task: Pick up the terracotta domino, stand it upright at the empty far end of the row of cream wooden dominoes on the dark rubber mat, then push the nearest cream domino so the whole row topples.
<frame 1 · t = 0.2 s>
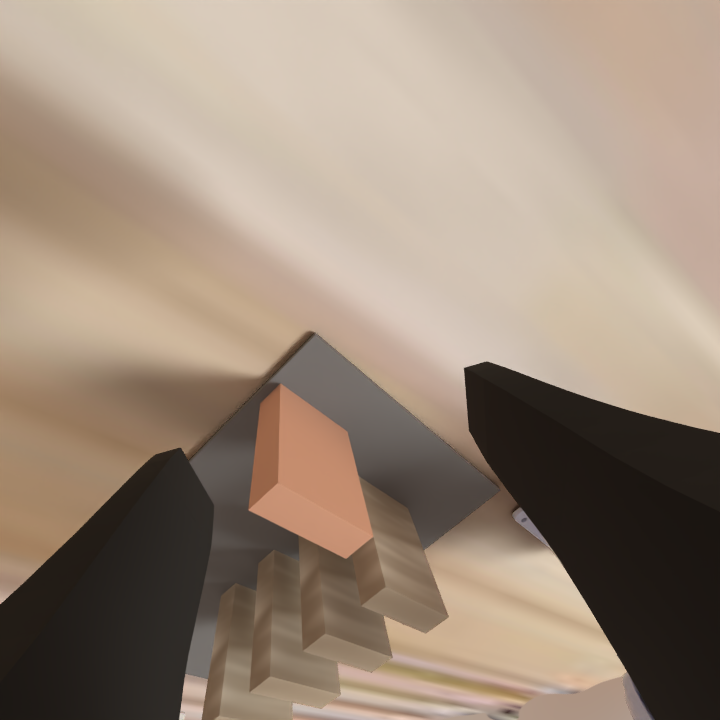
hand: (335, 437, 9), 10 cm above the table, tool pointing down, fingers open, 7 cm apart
rubber mat: (272, 555, 25), on the table
domino 2: (333, 535, 25), resting on rubber mat
domino 1: (375, 500, 24), resting on rubber mat
domino 4: (257, 600, 26), resting on rubber mat
domino 3: (294, 568, 25), resting on rubber mat
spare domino: (305, 418, 20), resting on rubber mat
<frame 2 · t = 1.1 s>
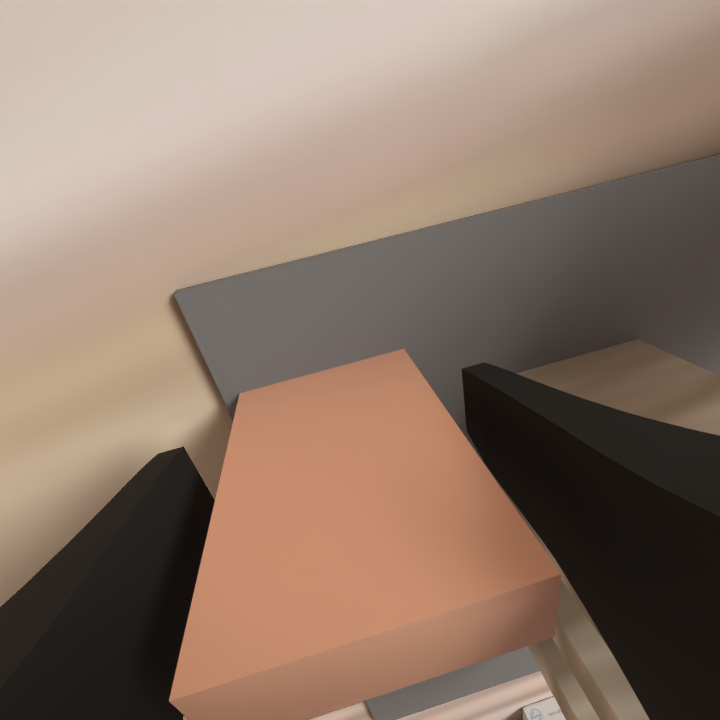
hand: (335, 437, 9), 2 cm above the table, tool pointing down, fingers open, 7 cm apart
rubber mat: (510, 534, 16), on the table
light bulb box: (557, 715, 28), on the table
domino 2: (561, 462, 14), resting on rubber mat
domino 1: (567, 378, 12), resting on rubber mat, touching gripper
domino 4: (551, 578, 18), resting on rubber mat
domino 3: (555, 527, 16), resting on rubber mat
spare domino: (329, 392, 11), resting on rubber mat
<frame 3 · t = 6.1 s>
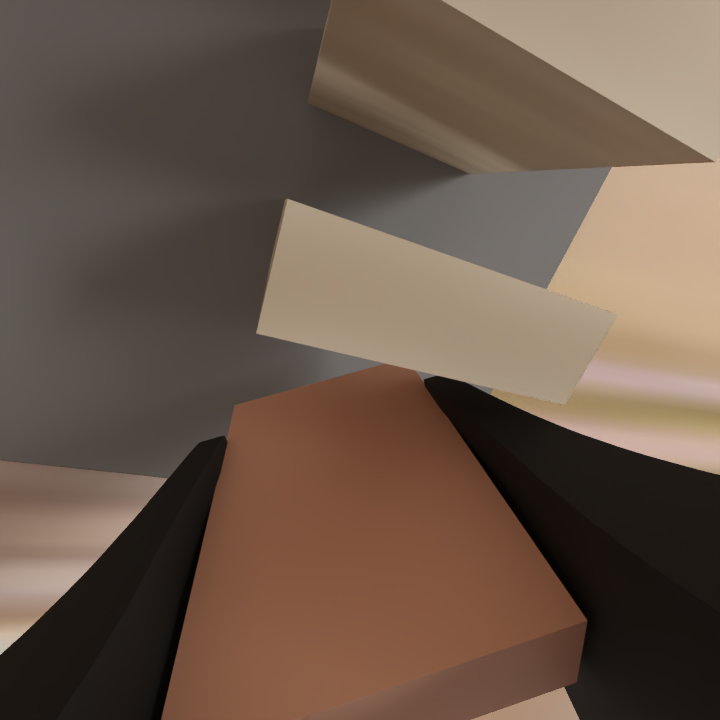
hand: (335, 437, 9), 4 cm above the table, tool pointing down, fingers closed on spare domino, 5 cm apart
rubber mat: (333, 78, 9), on the table
domino 4: (358, 253, 11), resting on rubber mat
domino 3: (404, 108, 10), resting on rubber mat
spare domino: (329, 403, 10), point 3 cm above the table, touching gripper
when the fingers open (3 cm above the table, at t = 7.1 s): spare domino stays where it is, resting on rubber mat.
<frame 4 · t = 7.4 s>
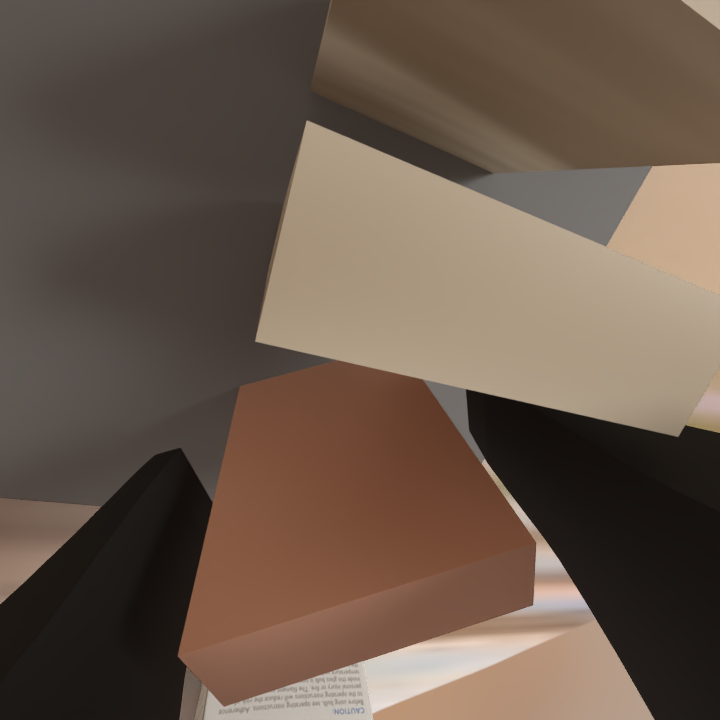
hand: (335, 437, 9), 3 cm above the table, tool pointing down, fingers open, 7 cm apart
rubber mat: (339, 62, 8), on the table
light bulb box: (269, 664, 19), on the table
domino 4: (367, 264, 10), resting on rubber mat, tilted 7°, touching gripper
domino 3: (422, 98, 8), resting on rubber mat
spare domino: (326, 386, 11), resting on rubber mat
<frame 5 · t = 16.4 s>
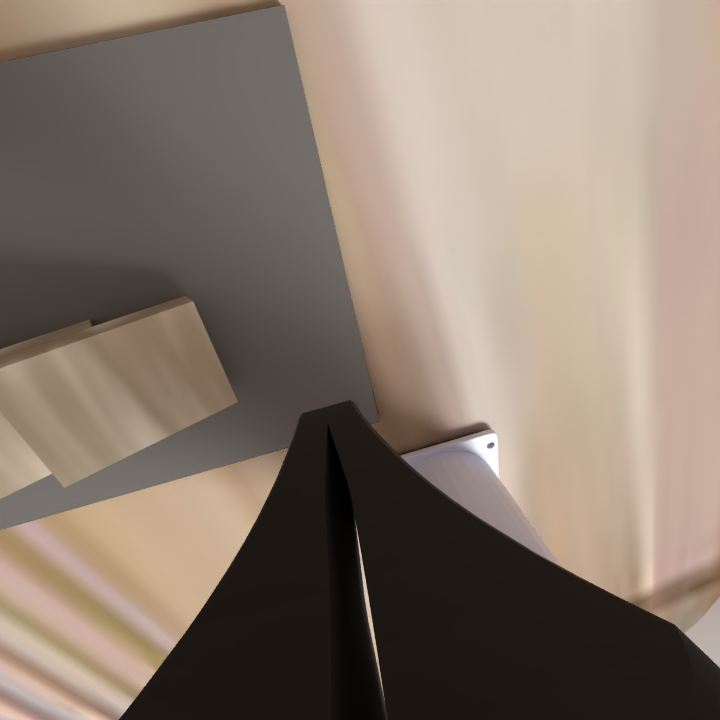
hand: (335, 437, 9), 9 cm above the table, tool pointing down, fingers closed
rubber mat: (32, 344, 16), on the table
domino 2: (121, 374, 16), point 1 cm above the table, tilted 63°, touching domino 1, domino 3, rubber mat
domino 1: (212, 350, 16), point 1 cm above the table, tilted 65°, touching domino 2, rubber mat
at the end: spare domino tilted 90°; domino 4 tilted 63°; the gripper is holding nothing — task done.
